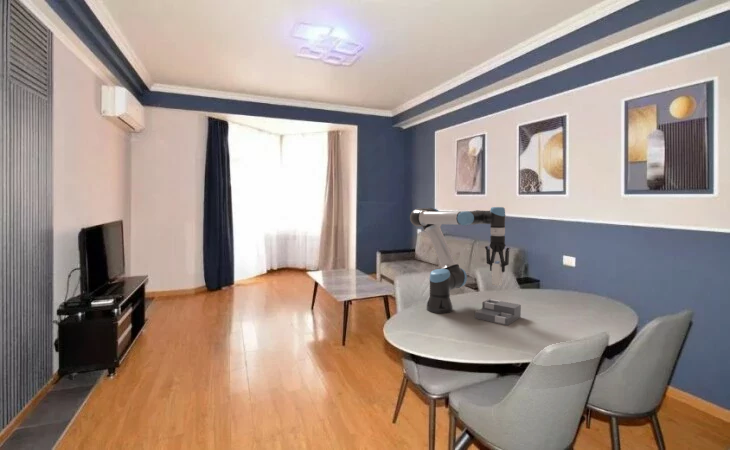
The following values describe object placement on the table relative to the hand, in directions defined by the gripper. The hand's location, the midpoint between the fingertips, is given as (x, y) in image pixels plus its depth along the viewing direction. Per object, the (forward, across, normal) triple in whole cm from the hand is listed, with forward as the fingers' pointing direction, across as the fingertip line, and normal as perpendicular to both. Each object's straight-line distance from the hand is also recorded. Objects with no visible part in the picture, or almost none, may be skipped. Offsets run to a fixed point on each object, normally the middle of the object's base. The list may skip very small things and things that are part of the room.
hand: (497, 277), depth 206 cm
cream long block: (+4, 0, 0) cm, 4 cm away
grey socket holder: (+22, +1, -2) cm, 22 cm away
